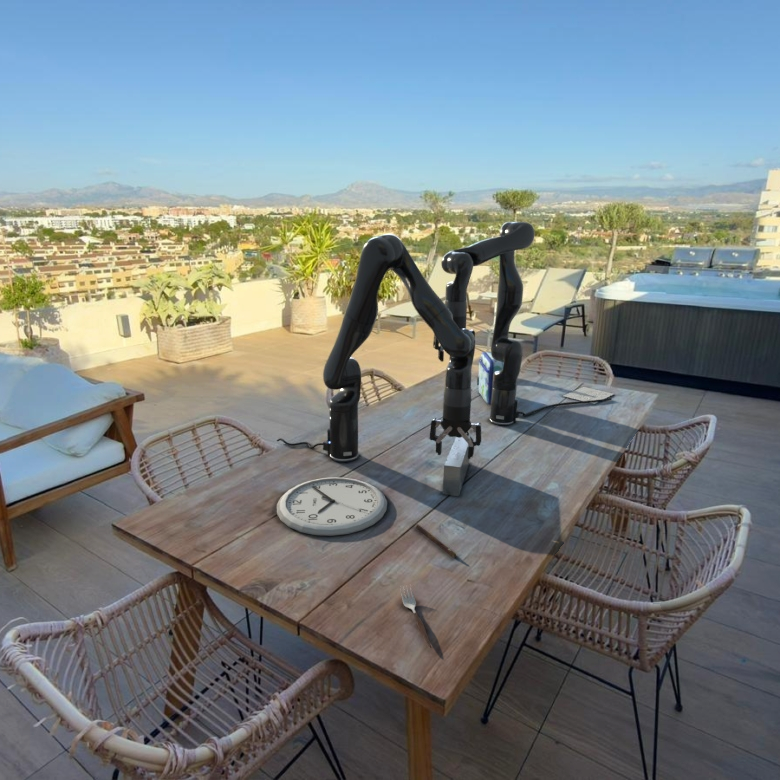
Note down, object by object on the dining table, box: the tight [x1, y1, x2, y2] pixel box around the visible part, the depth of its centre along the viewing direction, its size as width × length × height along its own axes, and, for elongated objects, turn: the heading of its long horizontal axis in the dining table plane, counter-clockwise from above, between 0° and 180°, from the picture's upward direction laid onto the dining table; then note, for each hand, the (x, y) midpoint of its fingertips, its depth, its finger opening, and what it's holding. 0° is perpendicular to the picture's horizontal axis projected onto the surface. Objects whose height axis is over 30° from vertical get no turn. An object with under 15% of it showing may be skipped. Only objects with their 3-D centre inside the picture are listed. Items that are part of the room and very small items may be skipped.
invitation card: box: [562, 386, 615, 405], centre depth 241 cm, size 21×1×15 cm
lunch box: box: [476, 351, 504, 406], centre depth 230 cm, size 26×11×21 cm, turn 179°
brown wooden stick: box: [415, 524, 457, 559], centre depth 127 cm, size 15×1×1 cm, turn 34°
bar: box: [442, 437, 470, 497], centre depth 158 cm, size 23×5×9 cm, turn 164°
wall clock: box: [276, 476, 388, 537], centre depth 142 cm, size 30×2×30 cm
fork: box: [399, 584, 432, 649], centre depth 101 cm, size 3×16×2 cm, turn 16°
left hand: (454, 456), depth 148 cm, fingers open, 8 cm apart
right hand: (453, 360), depth 180 cm, fingers open, 8 cm apart
